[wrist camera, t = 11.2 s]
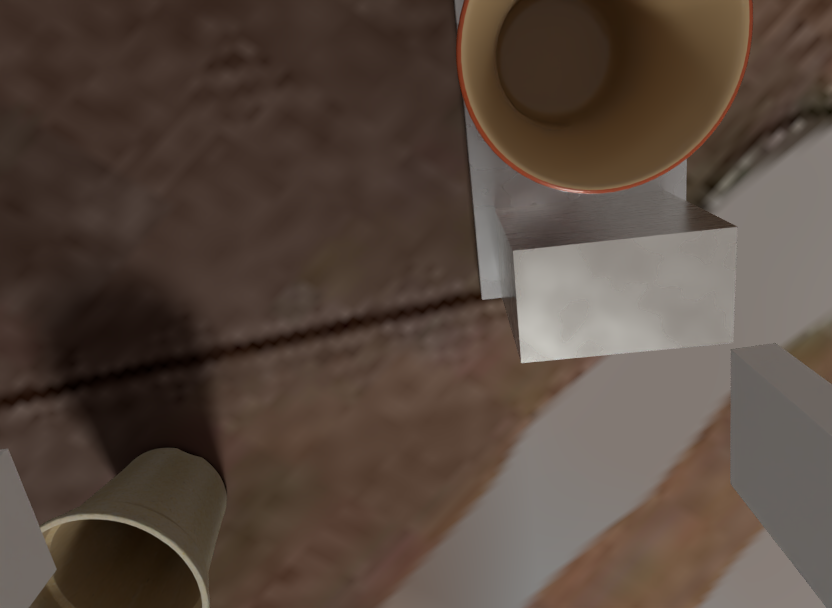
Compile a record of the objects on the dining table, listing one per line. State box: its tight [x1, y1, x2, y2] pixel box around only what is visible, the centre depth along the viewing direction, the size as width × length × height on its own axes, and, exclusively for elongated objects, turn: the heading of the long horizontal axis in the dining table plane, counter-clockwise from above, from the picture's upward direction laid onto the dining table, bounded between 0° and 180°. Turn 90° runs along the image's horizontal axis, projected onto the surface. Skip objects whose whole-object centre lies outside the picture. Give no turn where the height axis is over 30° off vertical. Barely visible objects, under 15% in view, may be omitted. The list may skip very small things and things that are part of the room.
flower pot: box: [29, 448, 227, 608], centre depth 35 cm, size 9×9×9 cm
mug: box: [456, 0, 753, 194], centre depth 24 cm, size 12×9×10 cm
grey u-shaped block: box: [454, 0, 738, 363], centre depth 26 cm, size 10×25×10 cm, turn 7°
